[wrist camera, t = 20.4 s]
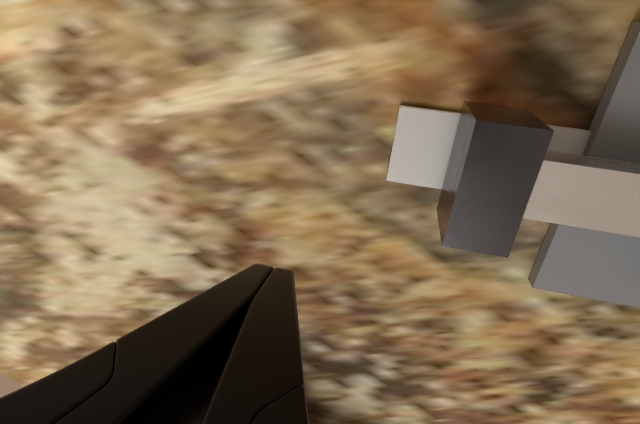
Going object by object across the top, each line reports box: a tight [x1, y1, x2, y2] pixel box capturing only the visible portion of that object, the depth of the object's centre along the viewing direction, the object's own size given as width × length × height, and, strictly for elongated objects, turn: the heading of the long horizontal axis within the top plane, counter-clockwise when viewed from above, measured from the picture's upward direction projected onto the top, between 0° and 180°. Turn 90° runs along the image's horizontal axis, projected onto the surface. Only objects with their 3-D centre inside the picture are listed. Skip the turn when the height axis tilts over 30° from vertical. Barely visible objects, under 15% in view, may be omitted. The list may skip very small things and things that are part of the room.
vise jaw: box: [437, 101, 640, 258], centre depth 15 cm, size 12×9×3 cm
